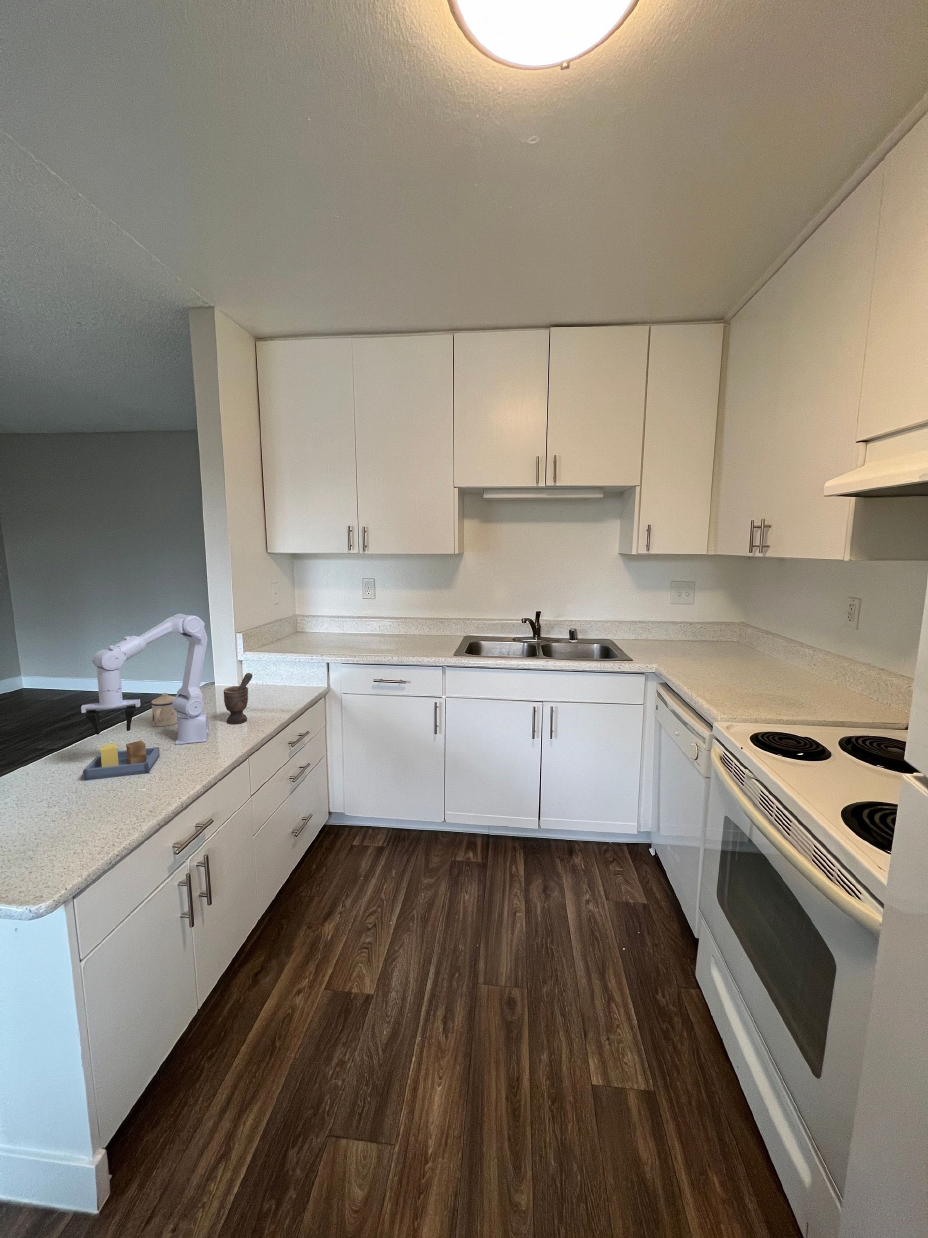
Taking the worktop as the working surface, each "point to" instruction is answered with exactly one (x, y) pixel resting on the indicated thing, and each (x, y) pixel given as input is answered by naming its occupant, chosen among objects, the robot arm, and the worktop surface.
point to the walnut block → (136, 752)
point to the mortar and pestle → (237, 700)
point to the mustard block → (109, 755)
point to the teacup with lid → (164, 711)
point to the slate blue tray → (121, 766)
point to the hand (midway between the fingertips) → (113, 731)
